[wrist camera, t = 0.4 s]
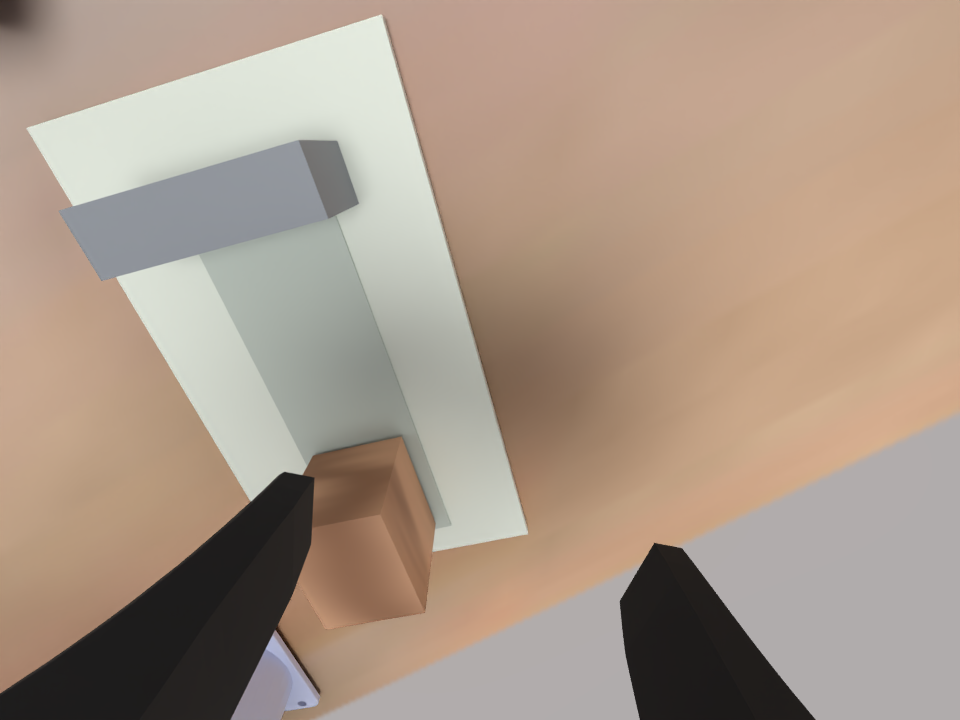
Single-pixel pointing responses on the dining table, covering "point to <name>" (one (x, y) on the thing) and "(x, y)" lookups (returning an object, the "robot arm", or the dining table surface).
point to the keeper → (367, 536)
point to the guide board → (294, 267)
